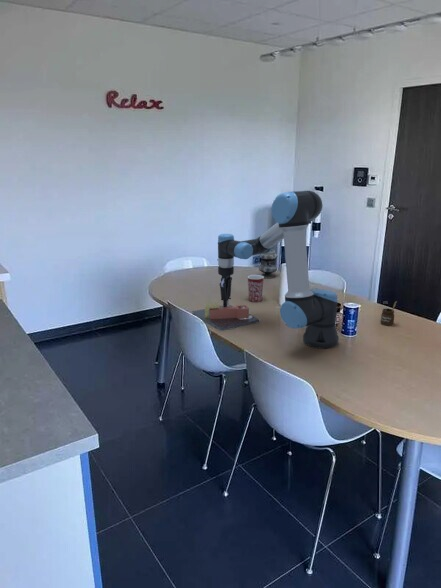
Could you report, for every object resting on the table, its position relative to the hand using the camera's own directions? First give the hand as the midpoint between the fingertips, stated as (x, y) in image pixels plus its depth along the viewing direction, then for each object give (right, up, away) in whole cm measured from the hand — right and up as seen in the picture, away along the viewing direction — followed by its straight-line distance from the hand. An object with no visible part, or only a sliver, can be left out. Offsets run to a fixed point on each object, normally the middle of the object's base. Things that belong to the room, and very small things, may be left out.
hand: (226, 312), depth 227 cm
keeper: (-7, -4, -2) cm, 8 cm away
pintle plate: (0, -3, +1) cm, 3 cm away
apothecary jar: (+29, +20, +76) cm, 84 cm away
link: (+1, -2, -2) cm, 3 cm away
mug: (+18, +6, +30) cm, 35 cm away
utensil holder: (+77, -5, -8) cm, 78 cm away
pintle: (+9, -2, -1) cm, 9 cm away
